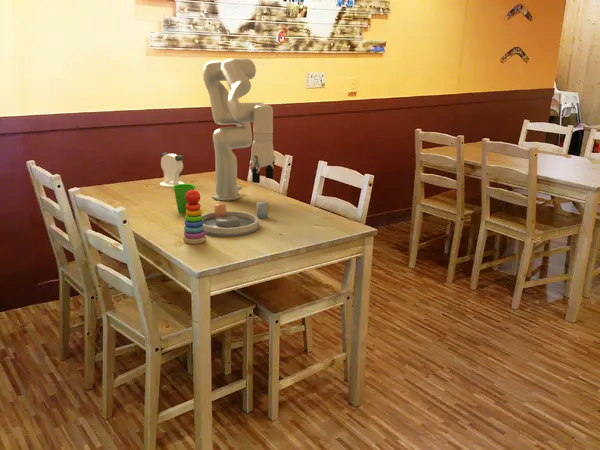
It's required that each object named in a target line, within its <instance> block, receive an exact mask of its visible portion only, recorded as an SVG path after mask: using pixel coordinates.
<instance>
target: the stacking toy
mask: <svg viewBox="0 0 600 450" xmlns="http://www.w3.org/2000/svg"><path fill="white" fill-rule="evenodd" d="M185 198H186V201H187V202H188V203H187V204H186V208H187V210H186V214H184V215H185V216H184V220H185V221H184V226H183V235H184V236H183V237H182V239H183V242H184V243H186V244H189V245H196V244H197V245H198V244H203V243H204V242H205V241H206V240H207V237H206V234H205V233H206V232H205V230H204V226H203V220H202V215H203V213H202V212H203V211H202V209H201V206H202V205H201V203H199V202H200V201H201V194H200V193H199V191H198V190H196V189H194V190H189V191H188V192H187V193H186V196H185Z"/></svg>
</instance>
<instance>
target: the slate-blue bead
mask: <svg viewBox="0 0 600 450" xmlns="http://www.w3.org/2000/svg"><path fill="white" fill-rule="evenodd" d="M268 204H269V203H268V201H267V202H266V201H257V202H256V216H257V218H258V219H259V220H266V219H268V218H269V217H268V215H269V211H268V209H269V205H268Z"/></svg>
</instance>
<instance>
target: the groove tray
mask: <svg viewBox="0 0 600 450" xmlns="http://www.w3.org/2000/svg"><path fill="white" fill-rule="evenodd" d="M201 215H202V220H203V226H204V230H205V232H206V233H205V236H206V235H207V236H213V237H220V238H221V237H222V238H230V237H231V238H235V237H243V236H247V235H251V234H253V233H256V232H258V231H259V230H260V221H259V220H260V219H258V218H257V215H255V214H252V213H250V212H245V211H237V210H226V216H221V217H218V218H216V220H215V219H214V211H211V212H207V213H204V214H201Z"/></svg>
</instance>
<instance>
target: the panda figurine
mask: <svg viewBox="0 0 600 450" xmlns="http://www.w3.org/2000/svg"><path fill="white" fill-rule="evenodd" d="M160 157H161V159H160V167H161V169H162V171H163V181H162V182H160V183H159V185H160V186H161V187H165V188H173V186H174V185H177V184H185V182H183V181H180V178H181V176H182V174H181V172H182V171H183V169H184V162H183V160H184V156H183V155H182V154H178V155H177V154H176V153H169V152H168V151H167V152H162V153H160Z"/></svg>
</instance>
